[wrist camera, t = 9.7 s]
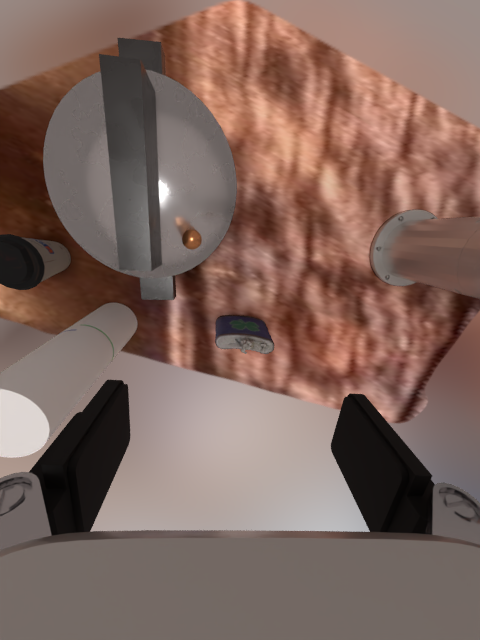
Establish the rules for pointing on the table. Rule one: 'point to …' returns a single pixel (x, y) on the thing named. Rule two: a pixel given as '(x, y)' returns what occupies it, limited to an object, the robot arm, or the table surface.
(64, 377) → the cylindrical container
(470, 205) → the table surface
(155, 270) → the lid
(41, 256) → the coffee cup
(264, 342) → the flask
